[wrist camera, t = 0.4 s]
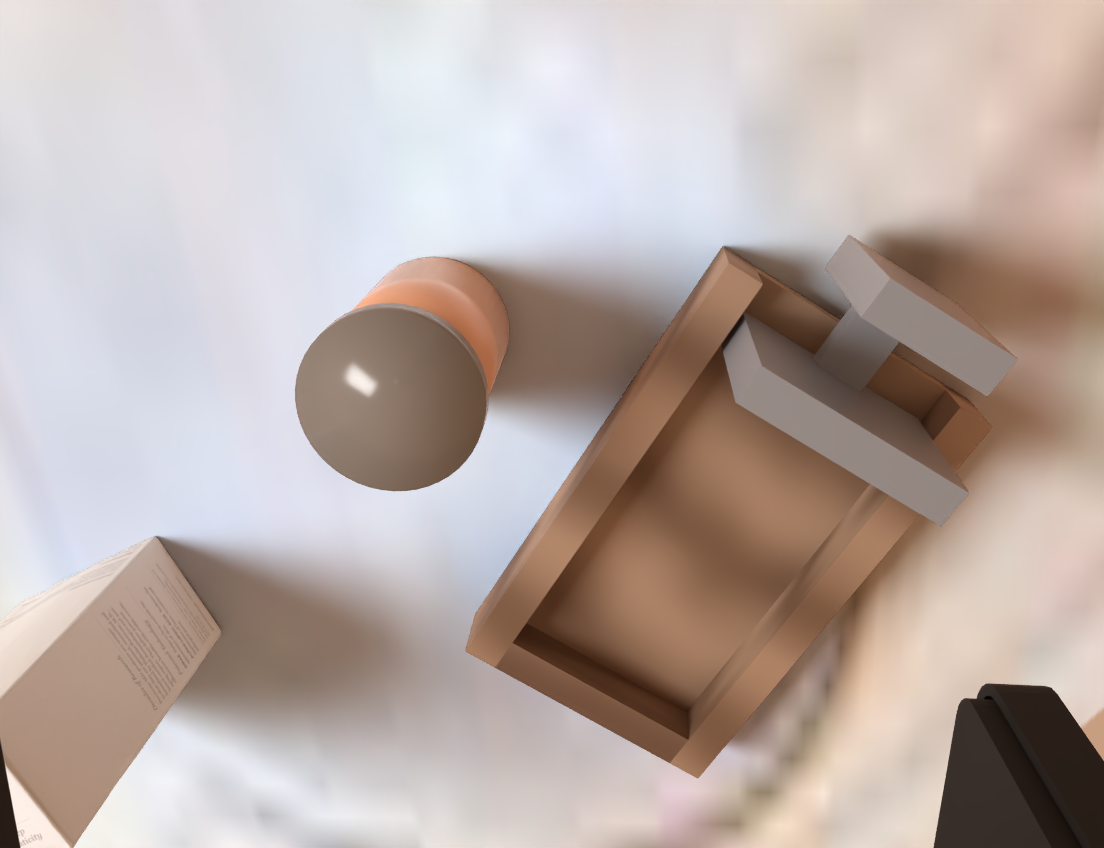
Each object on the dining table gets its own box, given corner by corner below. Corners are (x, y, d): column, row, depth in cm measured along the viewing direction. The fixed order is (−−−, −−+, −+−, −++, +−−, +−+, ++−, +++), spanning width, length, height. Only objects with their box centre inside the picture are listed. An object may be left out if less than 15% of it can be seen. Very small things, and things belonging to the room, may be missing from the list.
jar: (405, 222, 42) (347, 274, 34) (542, 304, 43) (519, 375, 34) (334, 352, 44) (264, 431, 36) (466, 428, 45) (428, 523, 37)
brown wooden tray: (722, 246, 41) (729, 263, 38) (969, 400, 43) (992, 427, 40) (475, 614, 48) (465, 651, 45) (694, 735, 50) (698, 778, 47)
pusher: (811, 210, 39) (845, 249, 33) (992, 326, 40) (1060, 386, 34) (720, 341, 41) (735, 402, 35) (894, 447, 42) (940, 526, 36)
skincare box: (94, 689, 52) (-105, 937, 38) (18, 592, 50) (-220, 814, 36) (233, 626, 50) (77, 863, 36) (159, 523, 48) (-35, 730, 34)
